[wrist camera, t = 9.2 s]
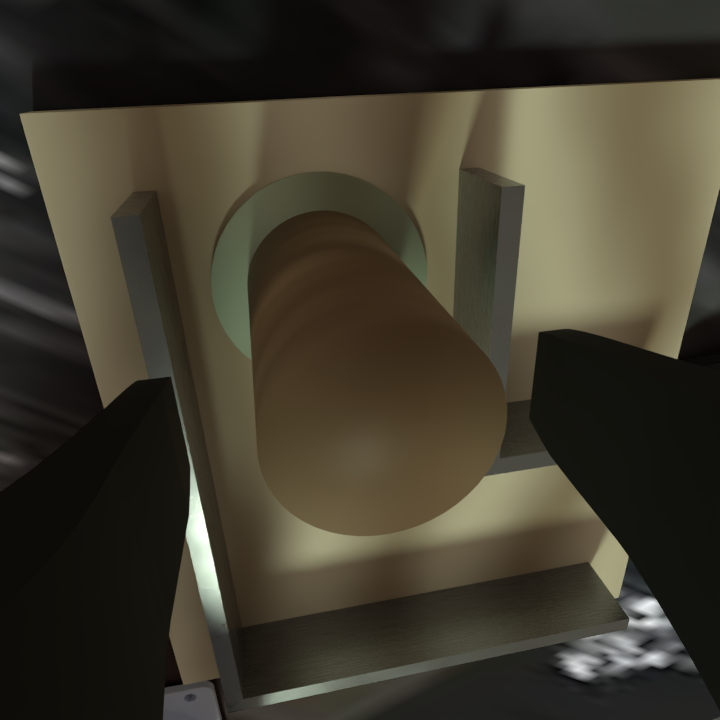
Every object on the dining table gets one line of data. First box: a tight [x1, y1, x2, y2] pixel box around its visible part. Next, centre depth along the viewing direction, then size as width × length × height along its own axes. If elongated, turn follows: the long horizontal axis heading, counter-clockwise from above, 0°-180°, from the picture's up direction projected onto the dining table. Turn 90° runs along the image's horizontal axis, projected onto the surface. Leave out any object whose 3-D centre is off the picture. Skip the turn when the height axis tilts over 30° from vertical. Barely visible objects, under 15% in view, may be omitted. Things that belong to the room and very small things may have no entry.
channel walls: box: [110, 167, 629, 713], centre depth 19 cm, size 16×18×3 cm
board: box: [20, 78, 720, 685], centre depth 21 cm, size 20×22×1 cm
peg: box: [247, 211, 507, 536], centre depth 13 cm, size 4×4×8 cm
